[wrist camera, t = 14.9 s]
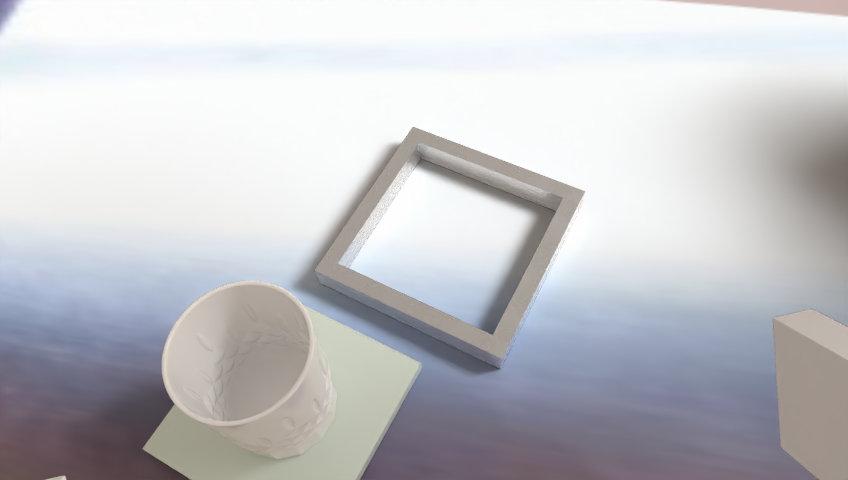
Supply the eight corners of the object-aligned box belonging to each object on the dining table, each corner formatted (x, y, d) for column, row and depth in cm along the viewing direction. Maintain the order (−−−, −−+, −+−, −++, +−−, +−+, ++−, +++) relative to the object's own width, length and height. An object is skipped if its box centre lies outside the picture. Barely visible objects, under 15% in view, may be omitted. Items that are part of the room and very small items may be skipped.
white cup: (340, 470, 40) (303, 426, 31) (214, 468, 40) (144, 424, 32) (351, 348, 44) (321, 279, 35) (236, 348, 44) (180, 280, 36)
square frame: (414, 142, 54) (413, 126, 52) (581, 206, 50) (585, 191, 48) (320, 283, 48) (314, 270, 46) (500, 369, 43) (501, 358, 42)
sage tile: (265, 290, 48) (261, 284, 47) (421, 368, 44) (420, 362, 43) (149, 452, 42) (142, 449, 41) (316, 557, 38) (312, 556, 37)
